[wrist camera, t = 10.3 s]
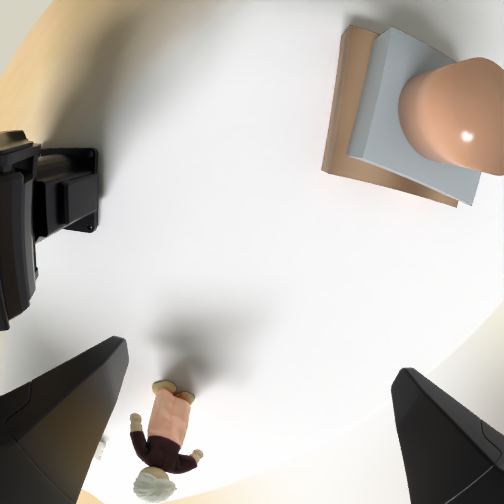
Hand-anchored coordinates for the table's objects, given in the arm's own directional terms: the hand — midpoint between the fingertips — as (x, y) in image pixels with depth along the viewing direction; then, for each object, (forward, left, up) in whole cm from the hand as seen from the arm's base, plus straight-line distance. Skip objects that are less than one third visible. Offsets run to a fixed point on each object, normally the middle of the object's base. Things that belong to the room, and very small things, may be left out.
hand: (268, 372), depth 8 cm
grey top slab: (+8, +10, -11) cm, 17 cm away
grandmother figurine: (-6, -18, -13) cm, 23 cm away
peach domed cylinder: (+8, +10, -8) cm, 15 cm away
